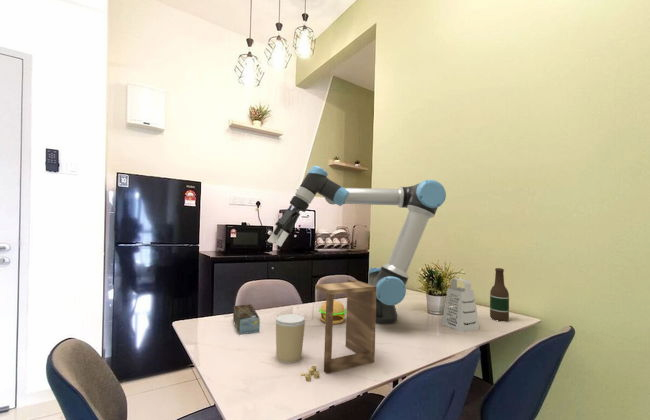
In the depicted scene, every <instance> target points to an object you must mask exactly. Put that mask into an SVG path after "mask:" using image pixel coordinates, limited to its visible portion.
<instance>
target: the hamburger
mask: <svg viewBox="0 0 650 420" xmlns="http://www.w3.org/2000/svg"><path fill="white" fill-rule="evenodd" d="M318 312H320V314H321V316H320V320H321V321H322V322H323V323H326V301H324V302H323V303H322V305H321V306H320V308H319V309H318ZM345 314H347V309H346V308H345V307H344V305H343V303H342V302H340V301H338V300H333V325H338V324H342V323H343V321H345V318H346V317H345V316H346V315H345Z"/></svg>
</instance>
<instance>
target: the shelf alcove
mask: <svg viewBox="0 0 650 420" xmlns="http://www.w3.org/2000/svg"><path fill="white" fill-rule="evenodd" d="M376 288H377V286H373V285H370V284H369V283H366V282H363V281H360V280H357V279H354V278H347V282H336V283H334V282H333V283H322V284H315V289H316V290H318V291H320V292H322V293H325V294H326V295H325V296H326V301H325V302H326V323H325V322H324V323H325V327H324V329H325V332H324V352H323V353H324V355H323V356H324V358H323V372H324V373H325V374H330V373H334V372H339V371H344V370H347V369H351V368H356V367H359V366H360V367H361V366H364V365H368V364H372V363H375V357H376V355H375V354H376V327H377V326H376V324H377V323H376ZM339 294H346V315H345V316H346V317H345V318H346V321H345V322H346V323H345V324H346V326H345V347H346V348H347V349H349V350H350V351H351V352H353V354H348V355H343V356H337V357H333V358H332V355H333V354H332V353H333V352H332V351H333V325H334V324H333V300H334V297H335V296H334V295H339Z"/></svg>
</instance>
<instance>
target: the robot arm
mask: <svg viewBox="0 0 650 420" xmlns="http://www.w3.org/2000/svg"><path fill="white" fill-rule="evenodd" d="M328 175H329V173H328V172H327V170H325V169H324V168H323V167H321V166H318V165H313V166H311V168H310V170H309V171H308V172H307V173H306V175H305V177H304V179H303V180H302V182H301V184H300V185H299V187H297V188H295V189H296V192H295V193H294V194H295V195H293V196H292V197H291V200H290V201H289V203H290V205H289V207H288V208H287V209H286V211H285V212H284V213H283V214H282V216H280V218H279V219H278V220H277V222H275V224H274V225H275V228H274V230H273V231H272V233H271V234H270V236H269V238H268V239H267V241H268V242H270V243H271V244H274V245H275V244H276V245H277V246H279V247H280V248H281V247H282V246H283V244H284V242H285V241H286V239H287V238H288V236H289V235H292V231H293V230H294V227H295V225H296V223H297V221H298V219H299V217H300V216H301V213H300V212H303V213H305V212H306V211H307V209H308V208H309V206H310V204H311V203H312V202H313V200H314V198H315V197H316V195H317V194H319V195H320V196H322V197H324V199H325V201H326V202H327V203H328V204H329V205H337V206H339V207H341V206H343V205H369V206H370V205H371V206H373V205H375V206H376V205H377V206H398V207H399V208H406V209H408V213H407V215H406V217H405V220H404V222H403V225H402V227H401V230H400V232H399V235H398V236H397V238H396V241H395V244H394V246H393V248H392V250H391V253H390V256H389V258H388V260H387V262H386V263H385V264H382V265H381V267H370V268H369V270H368V273H367V275H368V284H370V285H373V286H377V288H376V324H383V325H384V324H385V325H387V324H388V325H389V324H394V323H397V322H398V320H399V319H398V315H399V314H398V313H397V308H396V306H395V305H398V304H400V303H401V302H402V301H403V300H404V298H405V297H406V294H407V287H406V285H407V283H408V280H409V274H408V270H409V269H410V266H411V263H412V260H413V258H414V256H415V253H416V251H417V249H418V247H419V243H420V241H421V240H422V236H423V235H424V234H423V233H424V231H425V229H426V226H427V224H428V222H429V220H430V219H431V218H434V217H435V215H436V213H437V210H438V208H439V207H441V206H442V205H443V204H444V202H445V201H446V199H447V198H446V197H447V192H446V189H445V187H444V186H443V184H442V183H441V182H439V181H437V180H436V179H435V180H434V179H426V180H423V181H421V182H420V183H419V182H418V183H417V184H413V185H410V186H400V187H399V188H373V187H372V188H371V187H370V188H366V187H365V188H363V187H343V186H341V185H339V184H338V183H337V182H335V181H333V180H331V179H330V178H328ZM283 229H284V230H283Z"/></svg>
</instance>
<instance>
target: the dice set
mask: <svg viewBox="0 0 650 420" xmlns="http://www.w3.org/2000/svg"><path fill="white" fill-rule="evenodd" d="M300 376H302V377H304V378H305V381H306V382H311V381H312V376H313V378H314V379H319V378H320V371H319V370H317V366H316V365H312V366H311V368H309V369H308V373H306V372H301V374H300Z"/></svg>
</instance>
